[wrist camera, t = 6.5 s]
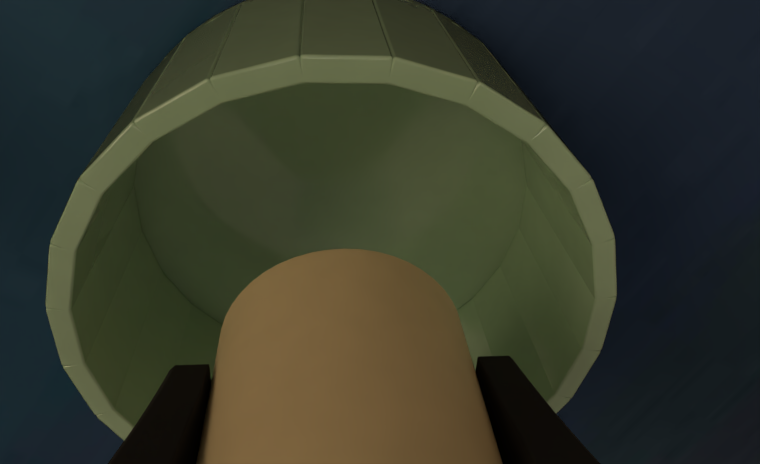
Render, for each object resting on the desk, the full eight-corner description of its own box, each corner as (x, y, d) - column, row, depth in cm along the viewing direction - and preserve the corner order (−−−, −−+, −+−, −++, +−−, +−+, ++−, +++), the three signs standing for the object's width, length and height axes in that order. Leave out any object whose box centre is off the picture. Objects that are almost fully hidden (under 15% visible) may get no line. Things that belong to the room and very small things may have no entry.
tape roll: (497, 374, 14) (575, 608, 10) (301, 458, 15) (297, 707, 11) (394, 203, 12) (442, 417, 8) (168, 316, 13) (93, 565, 8)
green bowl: (588, 256, 21) (675, 392, 16) (272, 400, 23) (260, 560, 18) (431, -113, 15) (492, -85, 10) (25, 127, 17) (-97, 251, 12)
